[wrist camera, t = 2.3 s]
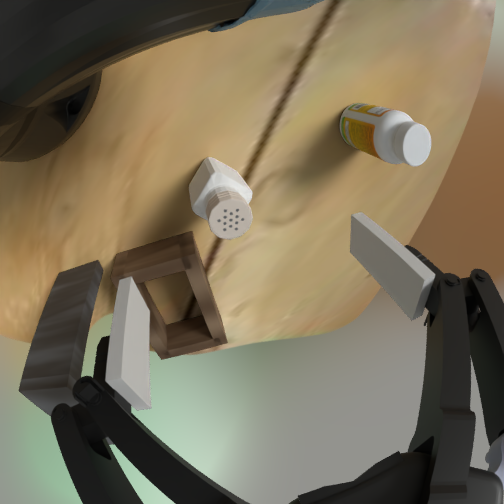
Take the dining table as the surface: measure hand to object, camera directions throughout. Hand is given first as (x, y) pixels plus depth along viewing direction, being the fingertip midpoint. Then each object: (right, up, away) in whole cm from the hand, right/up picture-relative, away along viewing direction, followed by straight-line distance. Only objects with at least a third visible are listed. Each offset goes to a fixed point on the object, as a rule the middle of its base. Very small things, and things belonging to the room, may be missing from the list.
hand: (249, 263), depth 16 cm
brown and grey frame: (-14, -5, +17) cm, 22 cm away
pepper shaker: (-4, +8, +12) cm, 15 cm away
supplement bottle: (+12, +15, +12) cm, 23 cm away
